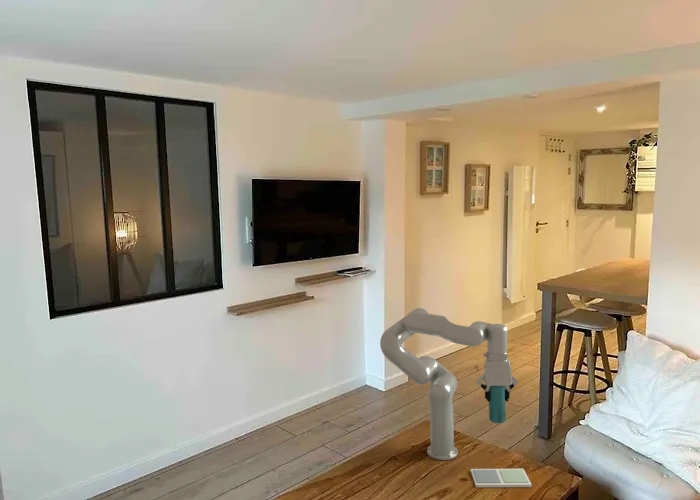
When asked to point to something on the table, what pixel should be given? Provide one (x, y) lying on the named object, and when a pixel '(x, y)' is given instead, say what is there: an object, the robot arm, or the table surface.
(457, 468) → the table surface
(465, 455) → the table surface
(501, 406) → the beverage bottle
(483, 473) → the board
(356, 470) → the table surface
